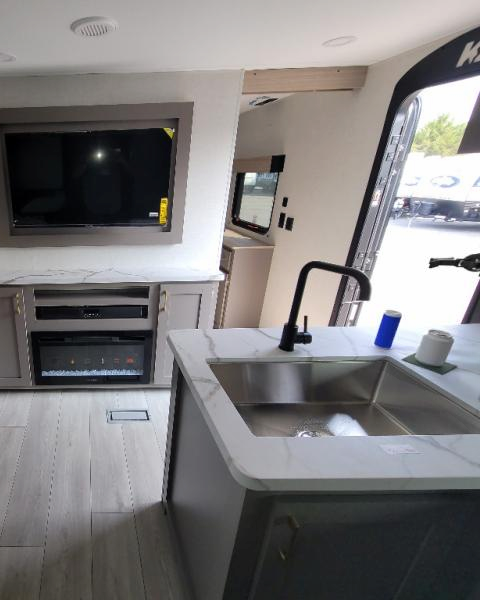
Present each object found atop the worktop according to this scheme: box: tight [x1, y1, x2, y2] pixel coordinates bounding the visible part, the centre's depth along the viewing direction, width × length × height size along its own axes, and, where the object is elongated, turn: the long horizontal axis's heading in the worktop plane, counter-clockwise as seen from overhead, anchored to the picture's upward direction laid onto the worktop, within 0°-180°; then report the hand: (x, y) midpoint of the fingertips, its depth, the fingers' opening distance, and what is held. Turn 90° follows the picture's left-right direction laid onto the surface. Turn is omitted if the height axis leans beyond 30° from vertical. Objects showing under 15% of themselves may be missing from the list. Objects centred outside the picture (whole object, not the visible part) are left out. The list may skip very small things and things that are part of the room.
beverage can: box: [373, 309, 403, 350], centre depth 128 cm, size 5×5×15 cm
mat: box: [401, 352, 458, 375], centre depth 118 cm, size 11×11×1 cm
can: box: [415, 329, 455, 367], centre depth 116 cm, size 8×8×12 cm
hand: (454, 268), depth 123 cm, fingers open, 13 cm apart
